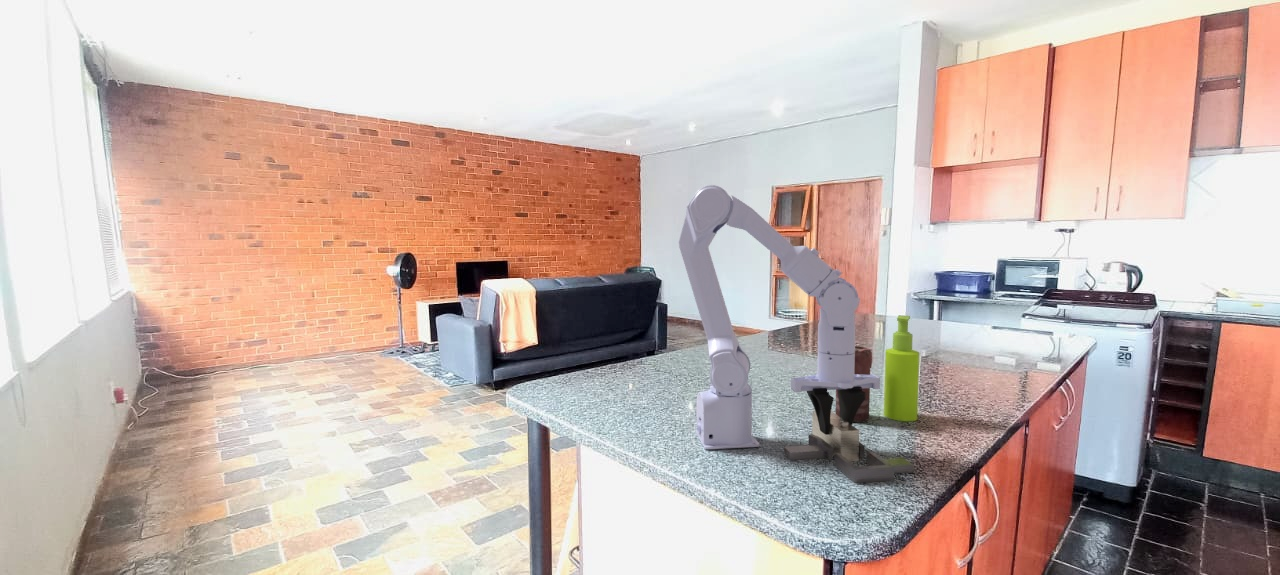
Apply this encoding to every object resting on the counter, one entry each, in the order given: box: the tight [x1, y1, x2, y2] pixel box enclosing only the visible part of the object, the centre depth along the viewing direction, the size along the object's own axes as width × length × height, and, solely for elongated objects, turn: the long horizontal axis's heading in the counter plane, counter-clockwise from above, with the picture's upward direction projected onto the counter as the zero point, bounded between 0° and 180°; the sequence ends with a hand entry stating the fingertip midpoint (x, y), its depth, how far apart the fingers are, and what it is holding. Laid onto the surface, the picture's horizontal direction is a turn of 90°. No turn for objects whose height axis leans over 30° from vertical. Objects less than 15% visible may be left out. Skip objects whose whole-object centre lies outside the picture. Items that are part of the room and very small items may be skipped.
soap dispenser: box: [883, 314, 920, 422], centre depth 98 cm, size 6×7×20 cm
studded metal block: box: [811, 409, 860, 463], centre depth 83 cm, size 3×10×6 cm, turn 6°
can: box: [834, 345, 873, 424], centre depth 97 cm, size 6×6×14 cm
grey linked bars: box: [783, 433, 914, 484], centre depth 78 cm, size 16×14×2 cm
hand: (834, 431), depth 83 cm, fingers closed on studded metal block, 3 cm apart
